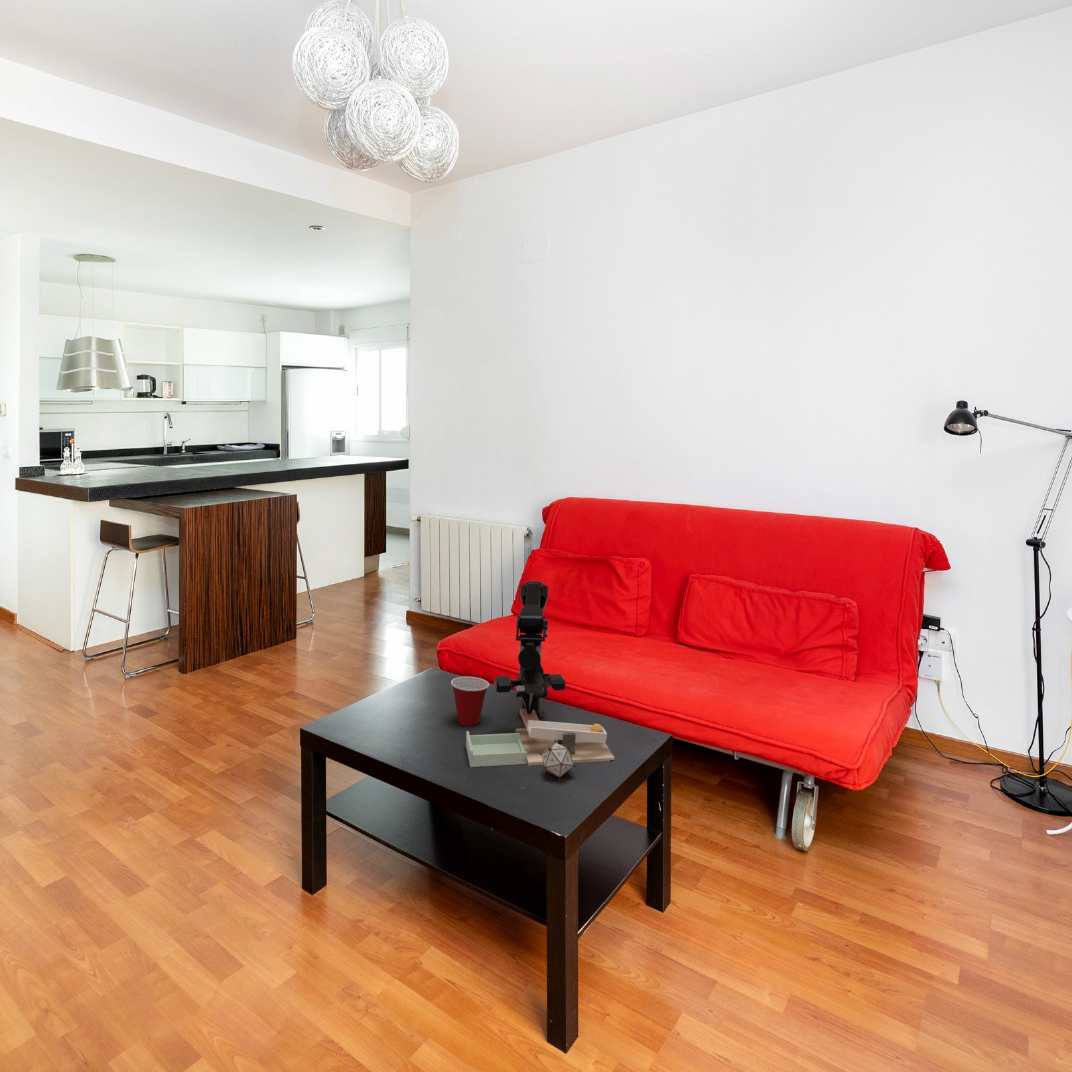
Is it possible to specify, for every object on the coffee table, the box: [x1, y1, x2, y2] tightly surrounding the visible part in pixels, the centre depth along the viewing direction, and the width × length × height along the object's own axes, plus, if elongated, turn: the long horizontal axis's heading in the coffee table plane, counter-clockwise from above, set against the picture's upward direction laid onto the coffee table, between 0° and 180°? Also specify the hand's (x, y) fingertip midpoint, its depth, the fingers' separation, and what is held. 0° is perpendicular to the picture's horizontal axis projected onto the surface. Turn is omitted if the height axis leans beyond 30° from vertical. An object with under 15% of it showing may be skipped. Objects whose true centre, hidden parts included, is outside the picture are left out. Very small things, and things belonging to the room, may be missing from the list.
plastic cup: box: [450, 676, 490, 727], centre depth 205 cm, size 11×11×12 cm
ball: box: [591, 723, 603, 732], centre depth 189 cm, size 3×3×3 cm
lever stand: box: [515, 727, 615, 766], centre depth 191 cm, size 21×22×6 cm
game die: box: [539, 739, 578, 782], centre depth 174 cm, size 9×8×10 cm
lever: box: [519, 708, 608, 744], centre depth 193 cm, size 17×20×3 cm
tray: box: [465, 730, 528, 768], centre depth 185 cm, size 12×14×4 cm
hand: (529, 713), depth 197 cm, fingers closed, pressing on lever
